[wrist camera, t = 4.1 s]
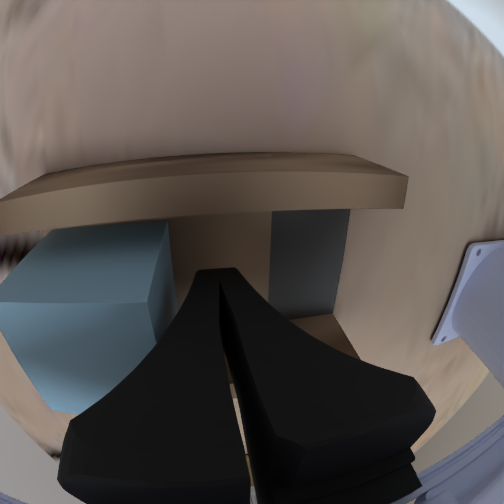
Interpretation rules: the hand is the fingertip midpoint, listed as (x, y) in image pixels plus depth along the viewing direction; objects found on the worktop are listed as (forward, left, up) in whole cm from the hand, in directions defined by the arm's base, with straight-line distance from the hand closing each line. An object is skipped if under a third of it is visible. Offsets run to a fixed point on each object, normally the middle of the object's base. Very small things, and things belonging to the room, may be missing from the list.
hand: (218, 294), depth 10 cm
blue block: (+4, 0, -1) cm, 4 cm away
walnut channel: (0, 0, -2) cm, 2 cm away
